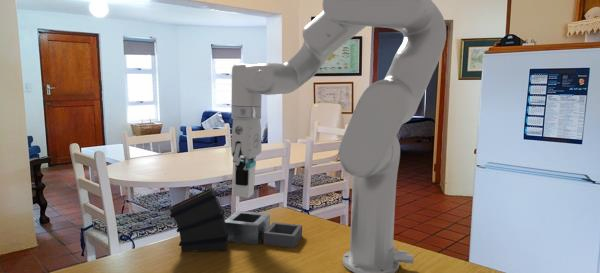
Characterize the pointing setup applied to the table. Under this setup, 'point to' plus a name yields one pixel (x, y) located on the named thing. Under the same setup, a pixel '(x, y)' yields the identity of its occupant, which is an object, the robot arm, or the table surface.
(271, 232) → the grey square frame
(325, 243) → the table surface
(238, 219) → the port block
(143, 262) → the table surface
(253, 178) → the plug
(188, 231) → the magazine
